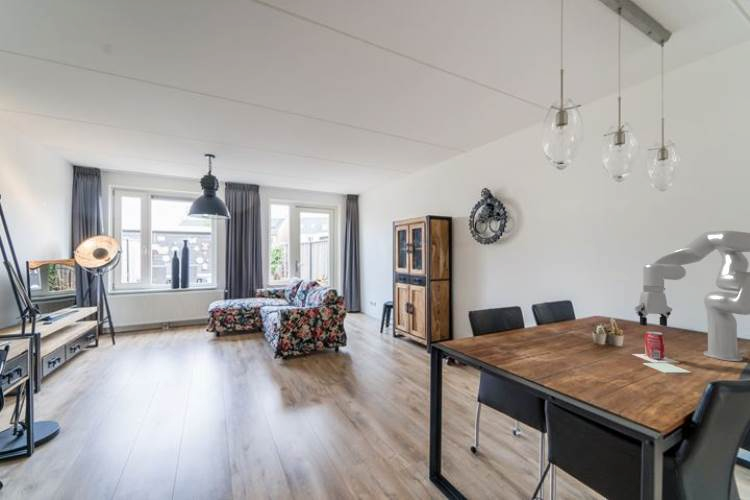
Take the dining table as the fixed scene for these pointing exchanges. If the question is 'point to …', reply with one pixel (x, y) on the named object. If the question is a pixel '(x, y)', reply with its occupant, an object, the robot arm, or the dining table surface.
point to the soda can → (654, 345)
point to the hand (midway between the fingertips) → (653, 325)
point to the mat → (666, 368)
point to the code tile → (664, 360)
